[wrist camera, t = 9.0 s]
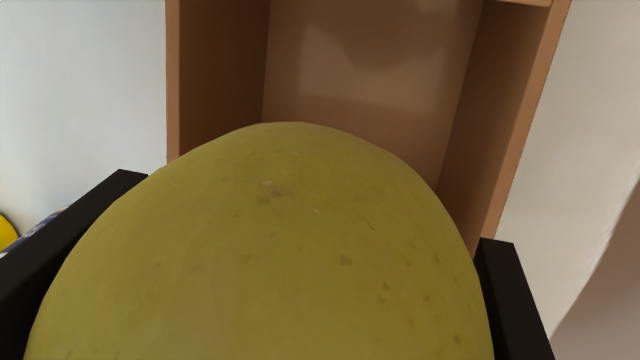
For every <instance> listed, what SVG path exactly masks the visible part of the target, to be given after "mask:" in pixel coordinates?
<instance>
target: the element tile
mask: <svg viewBox="0 0 640 360" xmlns="http://www.w3.org/2000/svg"><path fill="white" fill-rule="evenodd" d="M18 238H19V237H18V235H17V233H16V231H15V230H14V228H13V227H12V225H11V224H10V223H9V222H8V221H7V220H6V218H5V217H3V216H2V215H0V252H1V251H2V250H3V249H5V248H6V247H8V246H9V245H10V244H12V243H13V242H14V241H16V240H17V239H18Z"/></svg>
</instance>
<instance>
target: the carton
mask: <svg viewBox="0 0 640 360" xmlns="http://www.w3.org/2000/svg"><path fill="white" fill-rule="evenodd" d="M571 1H572V0H165V28H166V123H167V164H169V163H170V162H172V161H174V160H176V159H177V158H179V157H181V156H182V155H184V154H186V153H188V152H189V151H191V150H193V149H195V148H197V147H199V146H201V145H203V144H206V143H208V142H210V141H212V140H214V139H217V138H219V137H221V136H223V135H225V134H228V133H230V132H232V131H235V130H238V129H241V128H244V127H248V126H251V125H255V124H259V123H272V122H305V123H312V124H317V125H322V126H326V127H330V128H334V129H337V130H340V131H343V132H346V133H349V134H351V135H354V136H356V137H359V138H361V139H363V140H365V141H368V142H370V143H372V144H374V145H376V146H378V147H380V148H382V149H384V150H386V151H388V152H390V153H392V154H394V155H395V156H397V157H398V158H400V159H401V160H403V161H404V162H405V163H406V164H407V165H408V166H410V167H411V168H412V169H413V170H414V171H415V172H416V173H418V174H419V175H420V176H421V177H422V179H423V180H424V181H425V182H426V184H427V185H428V186H429V187H430V188H431V190H432V191H433V192H434V193H435V194H436V196H437V197H438V198H439V200H440V201H441V203H442V204H443V206H444V207H445V209H446V210H447V212H448V214H449V215H450V217H451V219H452V220H453V222H454V224H455V225H456V227H457V229H458V231H459V233H460V235H461V237H462V239H463V241H464V243H465V245H466V247H467V249H468V251H469V254H470V256H471V259H472V261H473V258H474V254H475V251H476V248H477V245H478V242H479V238H480V237H483V238H489V239H494V236H495V233H496V230H497V227H498V224H499V221H500V218H501V215H502V212H503V209H504V206H505V203H506V200H507V197H508V194H509V190H510V187H511V184H512V181H513V178H514V175H515V172H516V169H517V166H518V163H519V160H520V157H521V154H522V151H523V148H524V145H525V142H526V139H527V136H528V132H529V129H530V126H531V123H532V120H533V117H534V114H535V111H536V108H537V105H538V102H539V99H540V96H541V93H542V90H543V87H544V84H545V81H546V78H547V74H548V71H549V68H550V65H551V62H552V59H553V56H554V53H555V50H556V47H557V44H558V41H559V38H560V35H561V32H562V29H563V26H564V23H565V20H566V16H567V13H568V10H569V7H570V4H571Z"/></svg>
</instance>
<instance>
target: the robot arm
mask: <svg viewBox="0 0 640 360" xmlns="http://www.w3.org/2000/svg"><path fill="white" fill-rule="evenodd" d="M147 177H148V174H144V173H138V172H133V171H128V170H122V169H118V170H117V171H116V172H114V173H113V174H112V175H110V176H109V177H108V178H106V179H105V180H104V181H102V182H101V183H100V184H98V185H97V186H96V187H94V188H93V189H92V190H90V191H89V192H88V193H86V194H85V195H84V196H82V197H81V198H80V199H78V200H77V201H76V202H74V203H73V204H72V205H70V206H69V207H68V208H66V209H65V210H64V211H62V212H61V213H60V214H58V215H57V216H56V217H54V218H53V219H52V220H50V221H49V222H48V223H47V224H45V225H44V226H43V227H41V228H40V229H39V230H37V231H36V232H35V233H33V234H32V235H31V236H29V237H28V238H27V239H25V240H24V241H23V242H21V243H20V244H19V245H17V246H16V247H15V248H13V249H12V250H11V251H9V252H8V253H7V254H5V255H4V256H3V257H1V258H0V360H23V357H24V353H25V349H26V346H27V342H28V338H29V334H30V331H31V329H32V326H33V323H34V321H35V318H36V316H37V313H38V310H39V308H40V305H41V303H42V300H43V298H44V296H45V295H46V293H47V291H48V289H49V288H50V286H51V284H52V282H53V281H54V279H55V277H56V275H57V273H58V272H59V270H60V268H61V266H62V265H63V263H64V261H65V259H66V258H67V256H68V255H69V253H70V252H71V251H72V249H73V248H74V247H75V245H76V244H77V243H78V241H79V240H80V239H81V238H82V236H83V235H84V234H85V233H86V232H87V230H88V229H89V228H90V227H91V226H92V224H93V223H94V222H95V221H96V220H97V218H98V217H99V216H100V215H101V214H102V213H103V212H104V211H105V210H106V209H107V208H108V207H109V206H110V205H111V204H112V203H113V202H114V201H116V200H117V199H119V198H120V197H121V196H123V195H124V194H125V193H127V192H128V191H129V190H131V189H132V188H133V187H135V186H136V185H137V184H139V183H140V182H142V181H143V180H144V179H146V178H147ZM473 264H474V266H475V269H476V271H477V274H478V277H479V281H480V286H481V290H482V294H483V299H484V303H485V307H486V312H487V317H488V322H489V327H490V333H491V339H492V344H493V350H494V359H495V360H555V357H554V354H553V352H552V349H551V347H550V343H549V341H548V338H547V335H546V332H545V330H544V327H543V324H542V321H541V319H540V316H539V313H538V310H537V308H536V305H535V302H534V299H533V296H532V294H531V291H530V288H529V285H528V283H527V280H526V277H525V274H524V272H523V269H522V266H521V263H520V261H519V258H518V255H517V252H516V250H515V247H514V244H513V243H510V242H504V241H499V240H494V239H489V238H483V237H480V238H479V242H478V245H477V248H476V251H475V254H474V258H473Z"/></svg>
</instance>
